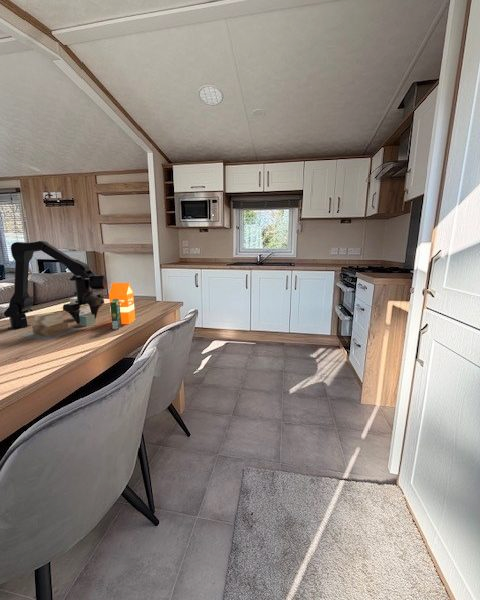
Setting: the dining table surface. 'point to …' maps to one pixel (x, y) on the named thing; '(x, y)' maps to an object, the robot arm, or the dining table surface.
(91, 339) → the dining table surface
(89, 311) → the ink cartridge box
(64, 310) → the robot arm
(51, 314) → the birch block
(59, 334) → the slate mat
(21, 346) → the dining table surface
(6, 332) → the dining table surface
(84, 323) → the sage cube
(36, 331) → the walnut slab
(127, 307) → the orange juice
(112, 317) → the coffee box
